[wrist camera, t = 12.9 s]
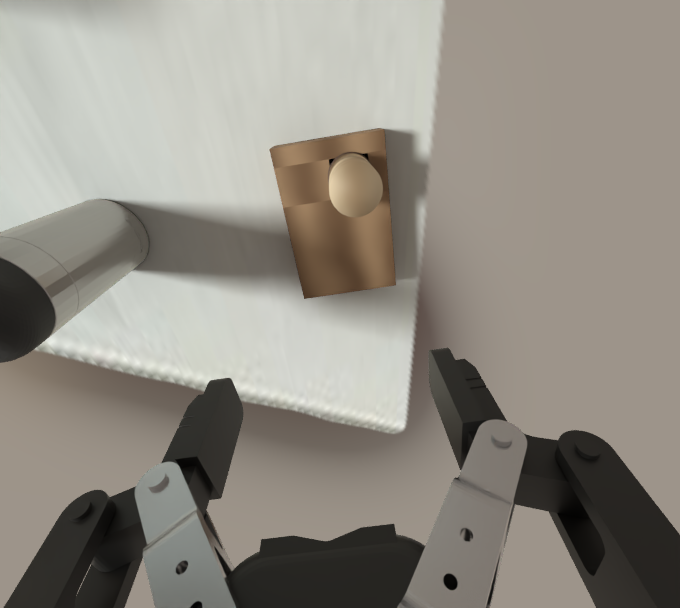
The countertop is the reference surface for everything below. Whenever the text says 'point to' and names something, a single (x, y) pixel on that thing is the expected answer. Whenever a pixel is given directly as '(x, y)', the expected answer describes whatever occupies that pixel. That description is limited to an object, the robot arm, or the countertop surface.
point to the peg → (354, 185)
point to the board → (334, 217)
